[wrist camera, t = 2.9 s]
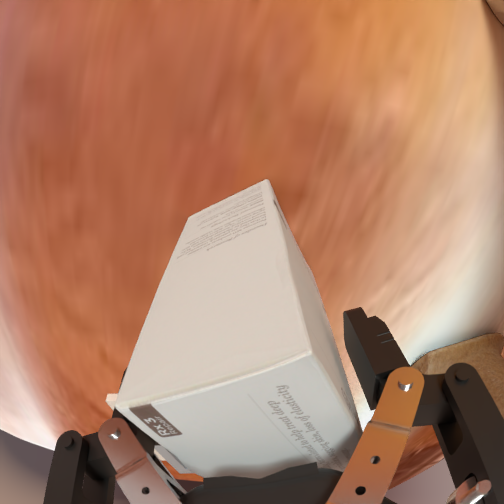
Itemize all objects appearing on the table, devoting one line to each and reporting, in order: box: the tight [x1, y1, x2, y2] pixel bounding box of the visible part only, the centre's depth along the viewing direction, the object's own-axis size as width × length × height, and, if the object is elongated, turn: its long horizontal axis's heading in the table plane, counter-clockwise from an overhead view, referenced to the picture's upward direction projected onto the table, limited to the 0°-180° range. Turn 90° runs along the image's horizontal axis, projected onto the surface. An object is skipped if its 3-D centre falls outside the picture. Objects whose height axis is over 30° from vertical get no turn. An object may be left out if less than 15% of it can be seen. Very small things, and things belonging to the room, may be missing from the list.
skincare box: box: [115, 179, 363, 479], centre depth 15 cm, size 8×6×15 cm
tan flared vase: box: [411, 333, 504, 419], centre depth 23 cm, size 15×12×15 cm
